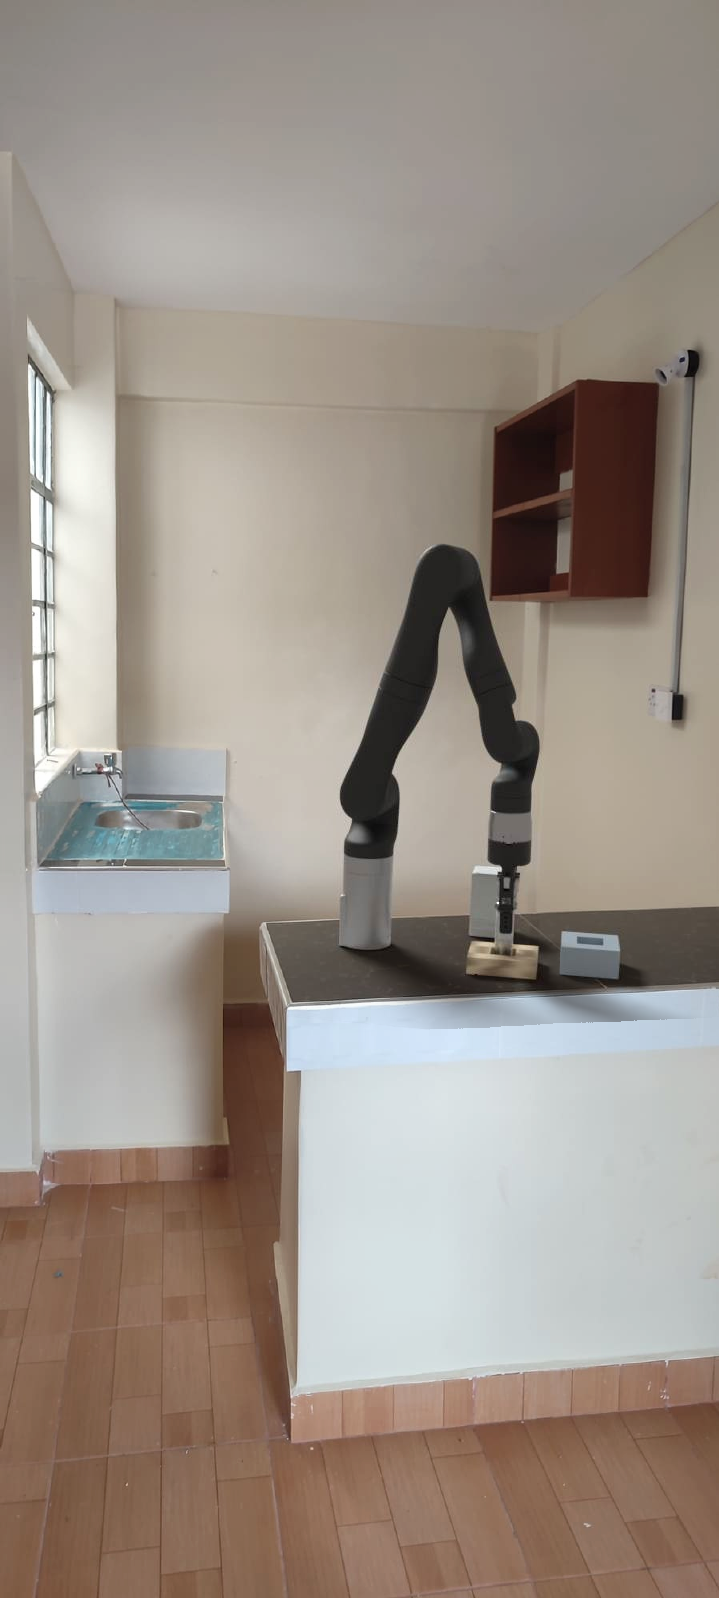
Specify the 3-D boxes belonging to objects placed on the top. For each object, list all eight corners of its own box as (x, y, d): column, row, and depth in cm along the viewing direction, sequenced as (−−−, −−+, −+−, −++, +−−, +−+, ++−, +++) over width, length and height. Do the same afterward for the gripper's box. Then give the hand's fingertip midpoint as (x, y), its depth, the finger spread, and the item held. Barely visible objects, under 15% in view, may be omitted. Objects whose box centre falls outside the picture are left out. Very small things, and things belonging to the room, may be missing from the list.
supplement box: (506, 939, 219) (509, 875, 216) (467, 936, 220) (470, 872, 218) (508, 929, 226) (512, 867, 224) (471, 926, 227) (474, 864, 225)
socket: (559, 974, 198) (561, 946, 197) (560, 957, 208) (561, 931, 207) (618, 979, 196) (620, 951, 195) (616, 962, 206) (617, 935, 205)
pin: (490, 970, 199) (493, 904, 197) (491, 963, 203) (495, 898, 201) (513, 972, 198) (516, 905, 196) (514, 965, 202) (517, 900, 200)
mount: (466, 973, 197) (466, 957, 196) (471, 956, 207) (471, 941, 206) (535, 979, 195) (536, 962, 194) (537, 962, 205) (538, 946, 204)
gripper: (490, 828, 205) (488, 915, 207) (485, 843, 191) (482, 936, 193) (532, 829, 203) (529, 917, 206) (530, 845, 189) (527, 939, 192)
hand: (506, 926), depth 200 cm, fingers open, 8 cm apart
